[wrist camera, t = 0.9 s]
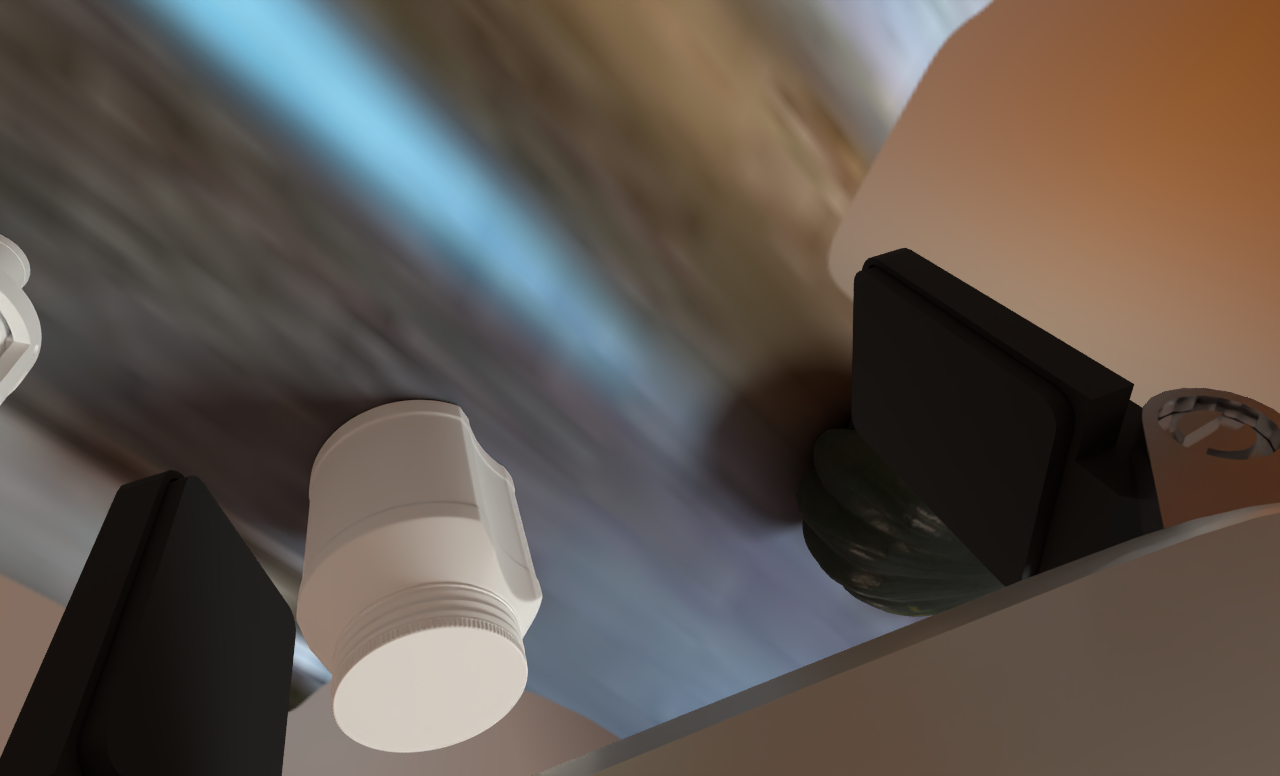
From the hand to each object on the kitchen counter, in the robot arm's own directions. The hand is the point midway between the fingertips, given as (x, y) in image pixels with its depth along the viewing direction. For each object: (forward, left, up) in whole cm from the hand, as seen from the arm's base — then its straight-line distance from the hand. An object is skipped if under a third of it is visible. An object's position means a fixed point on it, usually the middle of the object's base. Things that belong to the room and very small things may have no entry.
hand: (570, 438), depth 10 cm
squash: (-1, +39, -28) cm, 48 cm away
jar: (+18, +13, -28) cm, 36 cm away
